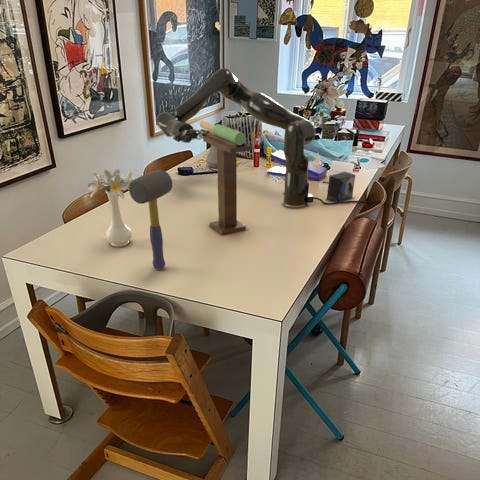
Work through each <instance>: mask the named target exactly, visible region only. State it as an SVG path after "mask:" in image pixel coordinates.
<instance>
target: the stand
mask: <svg viewBox="0 0 480 480" xmlns="http://www.w3.org/2000/svg"><path fill="white" fill-rule="evenodd" d="M202 137H203V136H202ZM202 141H203V142H204V143H207V144H209V145H210V146H211V145H213V146H216V147H217V168H216V170H217V202H218V205H217V206H218V207H217V208H218V211H217V212H218V220H215V221H210V222H209V227H210V228H212V229H213V230H214V231H216V232H217V233H219V234H220V235H222V236H224V235H230V234H234V233H238V232H242V231H243V232H244V231H246V230H247V226H246V224H244V223H242V222H240V221H238V219H237V217H238V216H237V215H238V213H237V210H238V209H237V208H238V207H237V205H238V204H237V203H238V202H237V196H238V195H237V191H238V190H237V184H238V183H237V181H238V180H237V177H238V176H237V153H242V152H248V151H252V145H251V144H248V142H246V141H245V142H244V143H243V144H242V145H237V144H235V143H233V142H230V141H228V140H225V139H223V138H220V137H218V136H216V135H214V134H213V133H211V132H209V133H207V136H206V137H203V139H202Z"/></svg>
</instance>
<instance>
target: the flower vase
mask: <svg viewBox="0 0 480 480" xmlns="http://www.w3.org/2000/svg"><path fill="white" fill-rule="evenodd" d="M120 172H121V171H120V169H115V170H114V171H113V172H110V170H108V169H104V170H103V173H104V174H100V176H99V175H98V173H97V172H93V176H92V177H93V181H90V182H89V183H88V184H87V187H88V190H89V191H91V193H90V195H89V196H90V197H89V198H93V196H94V195H95V194H97V192H98V191H100V190H102V189H103V190H105V191H104V192H105V194H106V195H107V198H108V202H109V209H110V223H109V225H108V227H107V228H106V229H105V232H104V236H105V239H106V240H107V241H108V242H109V243H110V245H111V246H113V247H115V248H116V247H117V248H119V247H125V246H127V245H128V244H129V243H130V242H129V241H130V240H132V237H133V231H132V229H131V228H130V226H128V225H127V224H126V223H125V221H124V220H123V218H122V214H121V209H120V204H119V198H121V199H124V198H125V194H124V192H123V191H125V192H126V190H127V191H129V185H130V183H131V181H133V180H135V179H136V178H134V177H133V178H132V175H133V173H132V170H130V169H129V170H128V171H127V173H126V175H124V174H121V176H120Z"/></svg>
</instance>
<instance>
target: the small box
mask: <svg viewBox="0 0 480 480" xmlns="http://www.w3.org/2000/svg"><path fill="white" fill-rule="evenodd" d="M355 179H356V174H354V173H350V172H348V171H342V172H339V173H334V174H329V177H328V183H327V184H328V185H327V186H328V187H327V194H326V200H327V201H330V202H332V203H334V202H345V201H349V200H351V199H353V195H354V188H355V187H354V186H355V181H356V180H355Z"/></svg>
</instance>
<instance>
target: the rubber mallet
mask: <svg viewBox="0 0 480 480" xmlns="http://www.w3.org/2000/svg"><path fill="white" fill-rule="evenodd" d="M172 188H173V179H172V177H171V175H170V174H169V173H168V172H167V171H165V170H163V169H159V170H155V171H151V172H146V173H145V174H143V175H140V176H138V177H136V178H135V180H133V181H131V183H130V185H129V190H128V193H129V195H130V197H131V199H132V200H133V201H134V202H135V203H137V204H139V205H141V204H142V205H143V204H147V203H148V210H149V220H150V222H149V223H150V226H149V238H150V239H149V240H150V245H151V251H152V266H153V268H154V269H155V270H156V271H162V270H164V268H165V266H166V262H165V257H164V247H163V246H164V245H163V243H164V239H163V232H162V227H161V225H160V217H159V207H158V199H159V198H161V197H164V196H166V195H167V194H168V193H170V192H171V191H172V190H173V189H172Z"/></svg>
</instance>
